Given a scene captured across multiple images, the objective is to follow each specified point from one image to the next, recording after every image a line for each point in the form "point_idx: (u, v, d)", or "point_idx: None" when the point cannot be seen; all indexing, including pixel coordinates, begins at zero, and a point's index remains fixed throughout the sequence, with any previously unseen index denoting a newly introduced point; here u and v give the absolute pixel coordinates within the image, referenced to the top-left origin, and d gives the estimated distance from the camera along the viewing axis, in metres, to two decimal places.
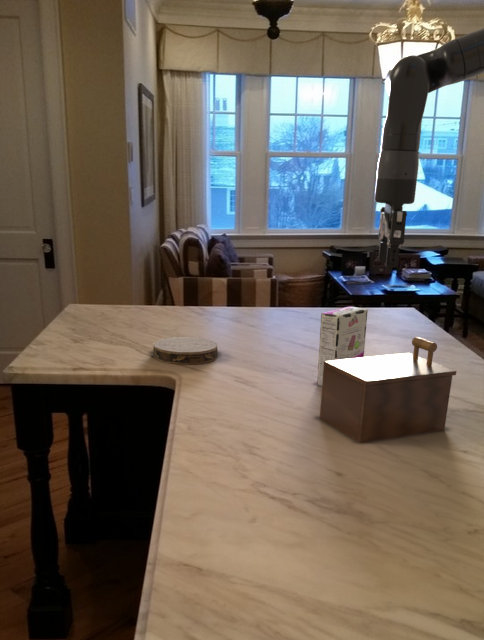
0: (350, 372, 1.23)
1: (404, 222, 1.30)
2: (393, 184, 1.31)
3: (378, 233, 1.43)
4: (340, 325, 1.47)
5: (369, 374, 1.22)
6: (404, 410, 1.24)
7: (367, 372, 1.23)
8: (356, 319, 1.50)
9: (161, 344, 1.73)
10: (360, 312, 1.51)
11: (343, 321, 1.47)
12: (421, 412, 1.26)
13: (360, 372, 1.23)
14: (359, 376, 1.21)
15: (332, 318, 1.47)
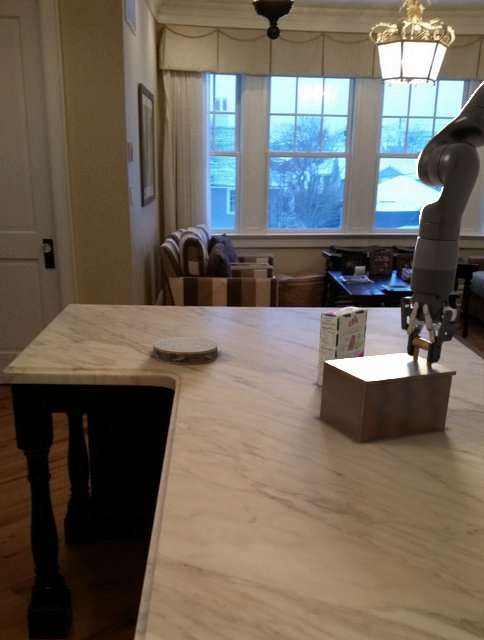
0: (350, 372, 1.23)
1: (456, 321, 1.22)
2: (441, 275, 1.21)
3: (403, 325, 1.32)
4: (340, 325, 1.47)
5: (369, 374, 1.22)
6: (404, 410, 1.24)
7: (367, 372, 1.23)
8: (356, 319, 1.50)
9: (161, 344, 1.73)
10: (360, 312, 1.51)
11: (343, 321, 1.47)
12: (421, 412, 1.26)
13: (360, 372, 1.23)
14: (359, 376, 1.21)
15: (332, 318, 1.47)
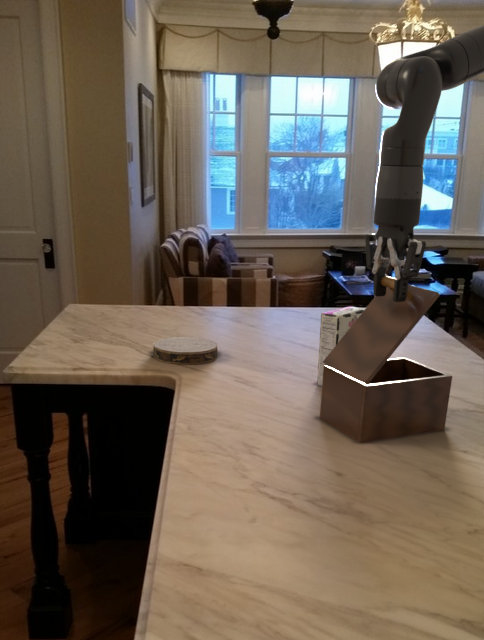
0: (348, 371, 1.23)
1: (422, 254, 1.14)
2: (405, 205, 1.13)
3: (368, 264, 1.24)
4: (340, 325, 1.47)
5: (364, 362, 1.21)
6: (404, 410, 1.24)
7: (361, 360, 1.22)
8: (356, 319, 1.50)
9: (161, 344, 1.73)
10: (360, 312, 1.51)
11: (343, 321, 1.47)
12: (421, 412, 1.26)
13: (356, 364, 1.22)
14: (356, 374, 1.21)
15: (332, 318, 1.47)
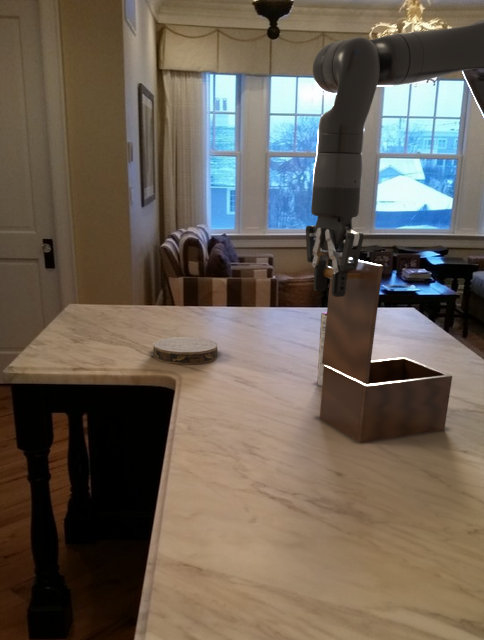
0: (346, 372, 1.23)
1: (360, 246, 1.09)
2: (342, 194, 1.08)
3: (308, 257, 1.19)
4: None
5: (354, 360, 1.20)
6: (404, 410, 1.24)
7: (351, 357, 1.21)
8: None
9: (161, 344, 1.73)
10: None
11: None
12: (421, 412, 1.26)
13: (349, 364, 1.21)
14: (354, 375, 1.20)
15: None
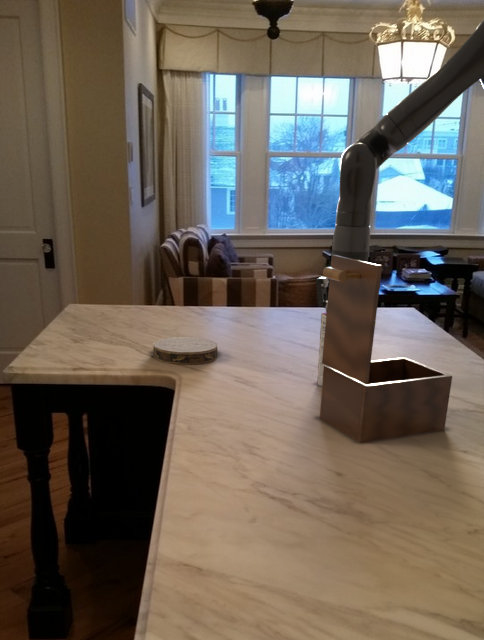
0: (346, 372, 1.23)
1: None
2: (363, 256, 1.44)
3: (320, 302, 1.51)
4: None
5: (354, 360, 1.20)
6: (404, 410, 1.24)
7: (351, 357, 1.21)
8: None
9: (161, 344, 1.73)
10: None
11: None
12: (421, 412, 1.26)
13: (349, 364, 1.21)
14: (354, 375, 1.20)
15: None
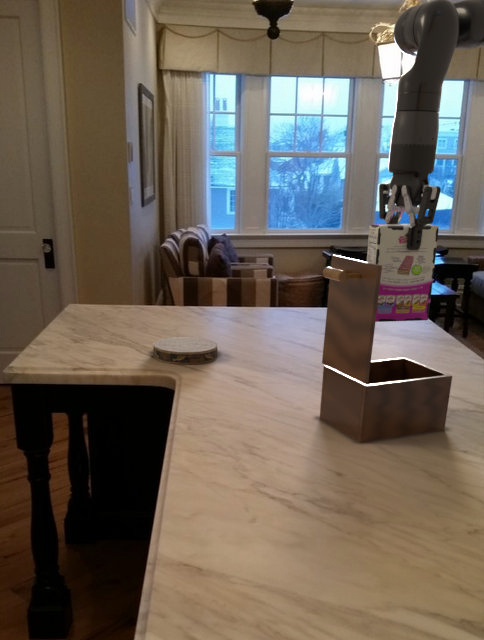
0: (346, 372, 1.23)
1: (437, 200, 1.15)
2: (420, 151, 1.14)
3: (381, 214, 1.25)
4: (383, 239, 1.19)
5: (354, 360, 1.20)
6: (404, 410, 1.24)
7: (351, 357, 1.21)
8: None
9: (161, 344, 1.73)
10: (423, 227, 1.20)
11: (388, 233, 1.19)
12: (421, 412, 1.26)
13: (349, 364, 1.21)
14: (354, 375, 1.20)
15: (375, 229, 1.20)
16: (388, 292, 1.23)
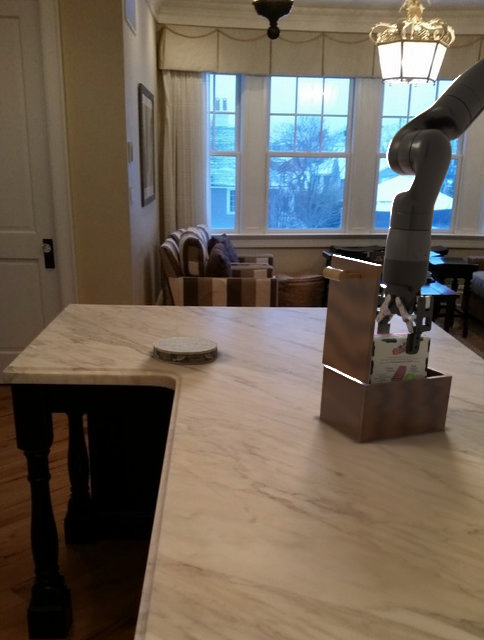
0: (346, 372, 1.23)
1: (432, 308, 1.18)
2: (413, 266, 1.18)
3: None
4: (377, 351, 1.24)
5: (354, 360, 1.20)
6: (404, 410, 1.24)
7: (351, 357, 1.21)
8: None
9: (161, 344, 1.73)
10: None
11: (382, 346, 1.24)
12: (421, 412, 1.26)
13: (349, 364, 1.21)
14: (354, 375, 1.20)
15: None
16: None
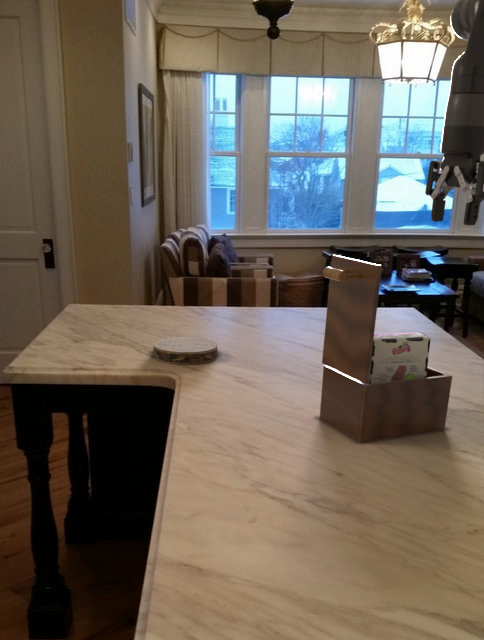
0: (346, 372, 1.23)
1: None
2: (474, 132, 1.18)
3: (427, 190, 1.30)
4: (377, 351, 1.24)
5: (354, 360, 1.20)
6: (404, 410, 1.24)
7: (351, 357, 1.21)
8: (407, 346, 1.25)
9: (161, 344, 1.73)
10: (415, 339, 1.25)
11: (382, 346, 1.24)
12: (421, 412, 1.26)
13: (349, 364, 1.21)
14: (354, 375, 1.20)
15: None
16: None
